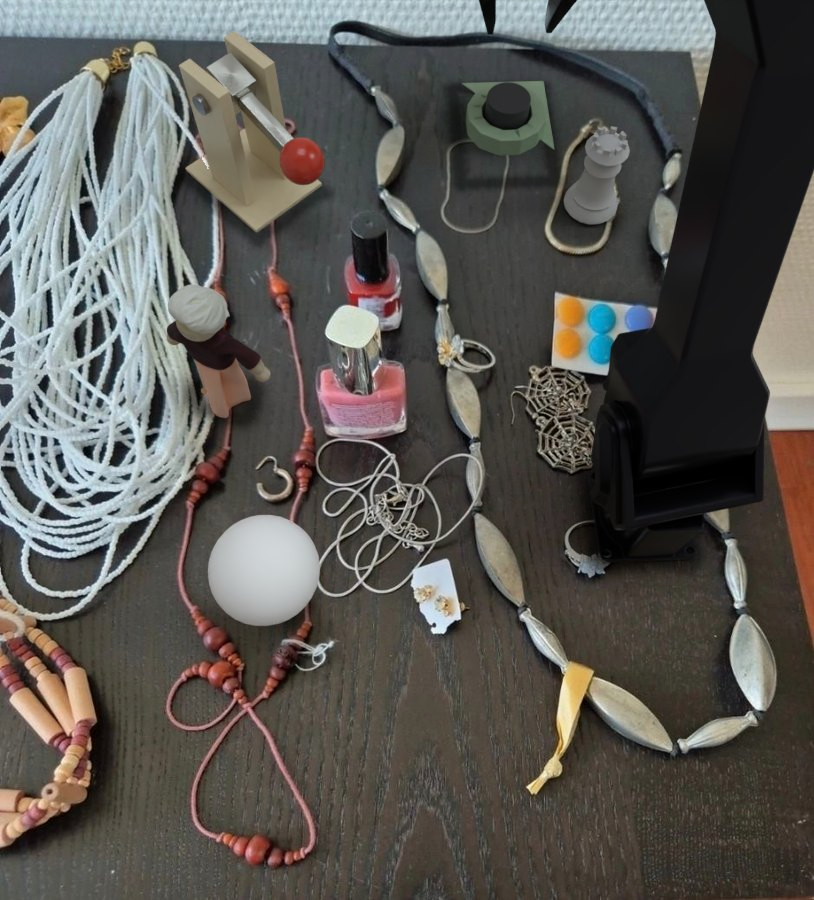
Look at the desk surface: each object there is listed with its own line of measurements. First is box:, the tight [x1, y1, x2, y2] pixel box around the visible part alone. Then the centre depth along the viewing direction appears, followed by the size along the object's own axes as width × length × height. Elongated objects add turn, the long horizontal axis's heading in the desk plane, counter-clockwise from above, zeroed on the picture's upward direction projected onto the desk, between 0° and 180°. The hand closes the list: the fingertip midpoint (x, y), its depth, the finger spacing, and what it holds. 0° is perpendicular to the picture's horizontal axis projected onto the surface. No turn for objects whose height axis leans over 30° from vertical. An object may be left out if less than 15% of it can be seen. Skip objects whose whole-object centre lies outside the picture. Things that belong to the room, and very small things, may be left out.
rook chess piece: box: [563, 125, 631, 226], centre depth 60 cm, size 4×4×8 cm
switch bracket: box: [178, 30, 323, 233], centre depth 60 cm, size 9×7×12 cm
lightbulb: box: [207, 514, 321, 627], centre depth 46 cm, size 6×6×11 cm
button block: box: [461, 80, 555, 157], centre depth 67 cm, size 11×8×2 cm
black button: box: [484, 81, 531, 130], centre depth 65 cm, size 4×4×2 cm
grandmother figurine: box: [166, 283, 271, 419], centre depth 51 cm, size 8×4×13 cm, turn 76°
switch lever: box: [205, 52, 326, 185], centre depth 56 cm, size 10×3×3 cm, turn 45°
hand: (518, 30), depth 59 cm, fingers open, 4 cm apart
